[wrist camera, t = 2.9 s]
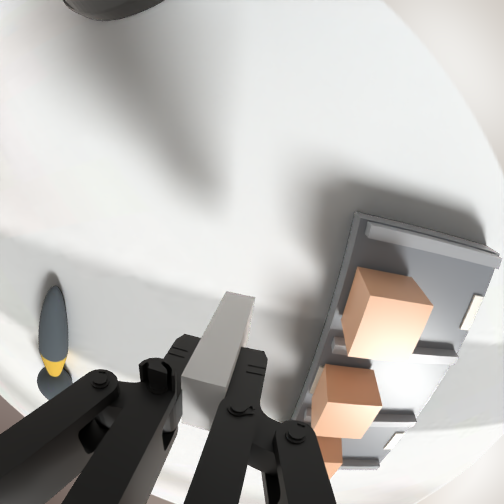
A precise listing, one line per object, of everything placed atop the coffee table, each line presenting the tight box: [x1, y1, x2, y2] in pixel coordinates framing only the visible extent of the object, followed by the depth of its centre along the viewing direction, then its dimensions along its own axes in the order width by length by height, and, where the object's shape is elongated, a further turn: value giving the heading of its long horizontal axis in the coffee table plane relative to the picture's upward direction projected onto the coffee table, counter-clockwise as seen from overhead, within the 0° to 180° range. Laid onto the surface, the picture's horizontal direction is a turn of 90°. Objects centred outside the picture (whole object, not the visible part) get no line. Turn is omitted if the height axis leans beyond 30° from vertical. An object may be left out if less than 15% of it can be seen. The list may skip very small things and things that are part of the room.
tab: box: [341, 267, 433, 363], centre depth 16 cm, size 4×4×4 cm
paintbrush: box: [37, 286, 73, 400], centre depth 27 cm, size 20×5×5 cm, turn 163°
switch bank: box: [291, 212, 502, 470], centre depth 22 cm, size 26×12×3 cm, turn 172°
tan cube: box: [316, 436, 343, 480], centre depth 22 cm, size 4×4×4 cm
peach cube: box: [311, 364, 382, 439], centre depth 19 cm, size 4×4×4 cm
